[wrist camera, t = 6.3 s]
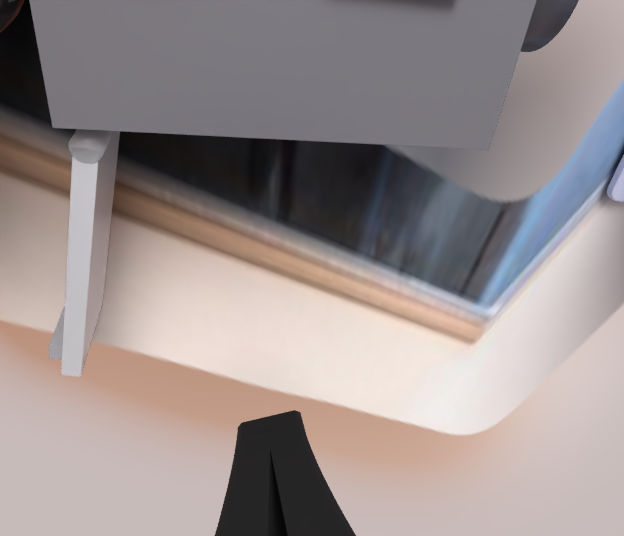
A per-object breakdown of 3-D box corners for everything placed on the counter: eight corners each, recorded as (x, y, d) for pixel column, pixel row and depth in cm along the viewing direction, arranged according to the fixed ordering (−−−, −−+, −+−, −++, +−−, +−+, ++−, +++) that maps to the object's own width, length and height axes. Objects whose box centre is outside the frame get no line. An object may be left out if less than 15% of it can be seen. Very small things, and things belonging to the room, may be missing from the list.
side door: (105, 303, 20) (84, 377, 16) (72, 298, 19) (44, 373, 16) (127, 93, 15) (104, 137, 12) (85, 83, 15) (50, 125, 12)
